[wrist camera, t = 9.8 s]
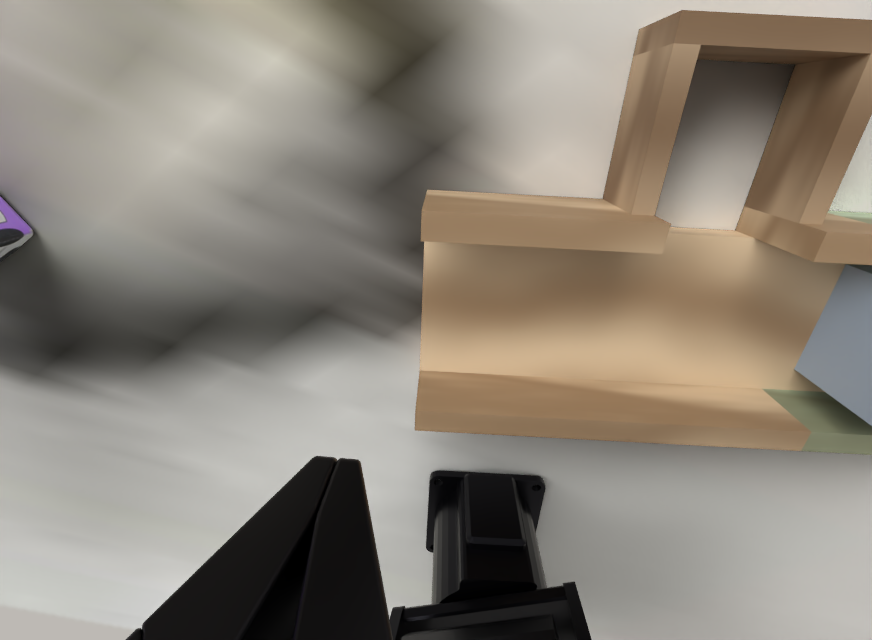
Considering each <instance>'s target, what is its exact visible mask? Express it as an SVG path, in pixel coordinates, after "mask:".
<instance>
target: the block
mask: <svg viewBox="0 0 872 640" xmlns="http://www.w3.org/2000/svg"><path fill="white" fill-rule="evenodd" d="M794 369H795V370H796V371H797V372H799V373H800V374H801V375H803V376H804V377H806V378H807V379H808V380H810V381H811V382H812V383H814V384H815V385H816V386H818V387H819V388H821V389H822V390H823V391H825V392H826V393H827V394H829V395H830V396H831V397H833V398H834V399H836V400H837V401H838V402H840V403H841V404H842V405H844V406H845V407H846V408H848V409H849V410H851V411H852V412H853V413H855V414H856V415H857V416H859V417H860V418H861V419H863V420H864V421H866V422H867V423H868V424H870V425H871V426H872V265H852V264H846V265H845V267H844V269H843V271H842V273H841V275H840V277H839V279H838V281H837V283H836V285H835V287H834V289H833V291H832V293H831V295H830V297H829V299H828V301H827V303H826V305H825V307H824V309H823V311H822V313H821V316H820V318H819V320H818V322H817V324H816V326H815V328H814V330H813V332H812V334H811V336H810V338H809V340H808V342H807V344H806V346H805V348H804V350H803V352H802V354H801V356H800V358H799V360H798V362H797V364H796V366H795V368H794Z"/></svg>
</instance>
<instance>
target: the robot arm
mask: <svg viewBox="0 0 872 640" xmlns="http://www.w3.org/2000/svg"><path fill="white" fill-rule="evenodd" d="M437 479H440V480H437ZM534 485H535V486H534ZM544 492H545V483H544V480H543V478H541V477H540V476H531V475H513V474H494V473H475V472H457V471H434V472H432V473H431V475H430V485H429V503H428V521H427V539H426V549H427V550H428V551H430V552H433V580H432V604H430V605H423V606H416V607H409V608H405V606H401V607H394V608H393V609H392V613H391V616H390V620H389V615H388V609H387V604H386V598H385V593H384V587H383V582H382V576H381V571H380V566H379V560H378V555H377V549H376V544H375V538H374V533H373V527H372V522H371V516H370V511H369V506H368V500H367V495H366V489H365V484H364V478H363V473H362V467H361V463H360V461H359V460H356V459H345V458H340V459H339V460H338V461H337V459H336V458H334V457H323V456H316V457H314V458H312V459H311V460H310V461H309V462H308V463H307V464H306V465H305V466H304V467H303V468H302V469H301V470H300V471H299V472H298V473H297V474H296V475H295V476H294V477H293V478H292V479H291V480H290V481H289V482H288V483H287V484H286V485H285V486H283V487H282V488H281V489H280V490H279V491H278V492H277V493H276V494H275V495H274V496H273V497H272V498H271V499H270V500H269V501H268V502H267V503H266V504H265V505H264V506H263V507H262V508H261V509H260V510H259V511H258V512H257V513H256V514H255V515H254V516H253V517H252V518H251V519H250V520H249V521H248V522H246V523H245V524H244V525H243V526H242V527H241V528H240V529H239V530H238V531H237V532H236V533H235V534H234V535H233V536H232V537H231V538H230V539H229V540H228V541H227V542H226V543H225V544H224V545H223V546H222V547H221V548H220V549H219V550H218V551H217V552H216V553H215V554H214V555H213V556H212V557H211V558H209V559H208V560H207V561H206V562H205V563H204V564H203V565H202V566H201V567H200V568H199V569H198V570H197V571H196V572H195V573H194V574H193V575H192V576H191V577H190V578H189V579H188V580H187V581H186V582H185V583H184V584H183V585H182V586H181V587H180V588H179V589H178V590H177V591H176V592H175V593H174V594H172V595H171V596H170V597H169V598H168V599H167V600H166V601H165V602H164V603H163V604H162V605H161V606H160V607H159V608H158V609H157V610H156V611H155V612H154V613H153V614H152V615H151V616H150V617H149V618H148V619H147V620H146V621H145V622H144V623H143V625H142V629H141V628H138V629H136V630H135V631H134V632H133V633H132V634H131V635H130V636H129V637H128V638H127V639H126V640H591V636H590V633H589V629H588V626H587V622H586V619H585V616H584V612H583V609H582V605H581V602H580V598H579V595H578V591H577V588H576V584H575V582H568V583H563V585H564V586H557V587H550V588H547V586H546V581H545V576H544V571H543V567H542V562H541V557H540V552H539V548H538V543H537V538H536V528H537V524H538V519H539V515H540V510H541V506H542V501H543V497H544Z"/></svg>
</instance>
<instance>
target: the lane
mask: <svg viewBox="0 0 872 640" xmlns="http://www.w3.org/2000/svg"><path fill="white" fill-rule="evenodd" d="M697 59H698V60H717V61H736V62H756V63H775V64H794V65H795V67H794V70H793V72H792V75H791V78H790V81H789V84H788V86H787V89H786V92H785V95H784V97H783V100H782V103H781V106H780V108H779V111H778V114H777V117H776V120H775V122H774V125H773V128H772V131H771V133H770V136H769V139H768V142H767V144H766V147H765V150H764V153H763V156H762V158H761V161H760V164H759V167H758V169H757V172H756V175H755V178H754V180H753V183H752V186H751V189H750V191H749V194H748V197H747V200H746V203H745V205H744V208H743V211H742V214H741V216H740V219H739V222H738V225H737V227H736V230H735V231H733V230H714V229H695V228H676V227H670V225H671V224H670V223H668V222H666V221H664V220H662V219H660V218H658V217H656V216H655V212H656V208H657V205H658V201H659V197H660V194H661V190H662V186H663V183H664V179H665V175H666V172H667V168H668V164H669V161H670V157H671V153H672V150H673V146H674V142H675V139H676V135H677V131H678V127H679V124H680V120H681V116H682V113H683V109H684V105H685V102H686V98H687V94H688V91H689V87H690V83H691V80H692V76H693V72H694V69H695V65H696V61H697ZM871 115H872V20H862V19H843V18H824V17H804V16H785V15H766V14H746V13H727V12H707V11H688V10H681V11H679V12H677V13H675V14H672V15H670V16H668V17H666V18H663V19H661V20H659V21H657V22H655V23H652V24H650V25H648V26H646V27H643V28H641V29H639V33H638V37H637V42H636V47H635V51H634V56H633V61H632V65H631V70H630V74H629V79H628V84H627V88H626V93H625V98H624V102H623V107H622V112H621V116H620V121H619V126H618V130H617V135H616V140H615V144H614V149H613V154H612V158H611V163H610V167H609V172H608V177H607V181H606V186H605V191H604V195H603V199H593V198H574V197H555V196H536V195H517V194H498V193H479V192H460V191H441V190H427V193H426V197H425V201H424V204H423V208H422V221H421V241H424V268H423V296H422V324H421V353H420V374H419V383H418V392H417V401H416V411H415V430H418V431H437V432H456V433H474V434H493V435H512V436H530V437H549V438H568V439H586V440H605V441H624V442H642V443H661V444H680V445H698V446H717V447H736V448H754V449H773V450H792V451H810V452H829V453H848V454H866V455H872V426H871V425H870V424H868V423H867V422H866V421H864V420H863V419H861V418H860V417H859V416H857V415H856V414H855V413H853V412H852V411H851V410H849V409H848V408H846V407H845V406H844V405H842V404H841V403H840V402H838V401H837V400H836V399H834V398H833V397H831V396H830V395H829V394H827V393H826V392H825V391H823V390H822V389H821V388H819V387H818V386H816V385H815V384H814V383H812V382H811V381H810V380H808V379H807V378H806V377H804V376H803V375H801V374H800V373H799V372H797V371H796V370H795V369H794V368H795V366H796V364H797V362H798V360H799V358H800V356H801V354H802V352H803V350H804V348H805V346H806V344H807V342H808V340H809V338H810V336H811V334H812V332H813V330H814V328H815V326H816V324H817V322H818V320H819V318H820V316H821V313H822V311H823V309H824V307H825V305H826V303H827V301H828V299H829V297H830V295H831V293H832V291H833V289H834V287H835V285H836V283H837V281H838V279H839V277H840V275H841V273H842V271H843V269H844V267H845V265H846V264H852V265H872V213H860V212H841V211H828V210H829V208H830V206H831V204H832V201H833V199H834V197H835V195H836V192H837V190H838V188H839V186H840V184H841V181H842V179H843V177H844V175H845V172H846V170H847V168H848V166H849V164H850V161H851V159H852V157H853V155H854V152H855V150H856V148H857V146H858V143H859V141H860V139H861V137H862V135H863V132H864V130H865V128H866V126H867V123H868V121H869V119H870V117H871Z"/></svg>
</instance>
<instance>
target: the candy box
mask: <svg viewBox="0 0 872 640" xmlns="http://www.w3.org/2000/svg"><path fill="white" fill-rule="evenodd" d="M32 236H33V230H32V229H31V228H30V227H29V225H28V224H27V223H26V222H25V221H24V220H23V219H22V218H21V217H20V216H19V215H18V214H17V213H16V212H15V211H14V210H13V209H12V207H11V206H10V205H9V204H8V203H7V202H6V201H5V200H4V199H3V198H2V197H1V196H0V261H2V260H3V259H4V258H6V257H7V256H9V255H10V254H12V253H13V252H15V251H16V250H17V249H18V248H19V247H20V246H22V245H23V244H24V243H25V242H26V241H27V240H28V239H29V238H31V237H32Z"/></svg>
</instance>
